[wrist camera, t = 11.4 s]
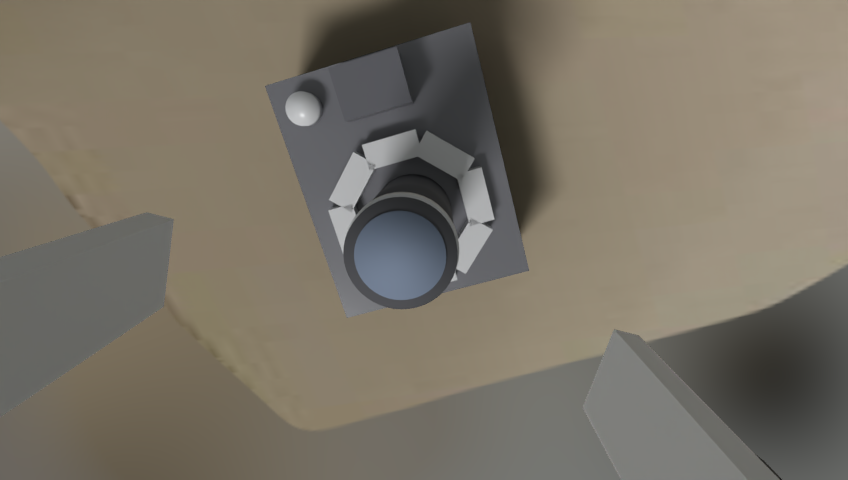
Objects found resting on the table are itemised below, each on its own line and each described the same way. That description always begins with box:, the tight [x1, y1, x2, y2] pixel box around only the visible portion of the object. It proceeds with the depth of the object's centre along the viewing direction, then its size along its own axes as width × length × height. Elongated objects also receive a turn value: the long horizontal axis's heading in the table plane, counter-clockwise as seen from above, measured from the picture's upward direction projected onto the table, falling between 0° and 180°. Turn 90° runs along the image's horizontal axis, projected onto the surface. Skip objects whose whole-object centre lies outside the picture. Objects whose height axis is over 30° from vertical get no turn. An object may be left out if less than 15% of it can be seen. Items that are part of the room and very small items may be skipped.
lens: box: [343, 174, 459, 309], centre depth 24 cm, size 5×5×10 cm
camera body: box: [265, 22, 529, 318], centre depth 30 cm, size 13×16×8 cm
